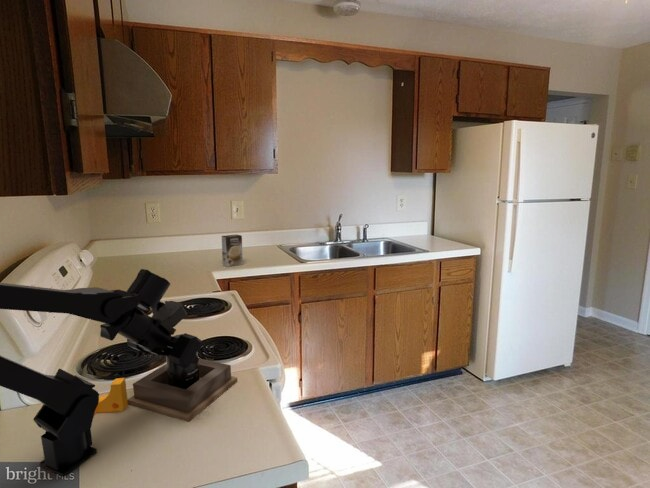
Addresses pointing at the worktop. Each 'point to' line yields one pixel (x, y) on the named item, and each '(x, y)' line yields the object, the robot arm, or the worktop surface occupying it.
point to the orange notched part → (114, 398)
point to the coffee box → (232, 250)
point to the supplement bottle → (181, 373)
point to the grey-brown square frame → (182, 391)
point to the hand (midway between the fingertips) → (187, 357)
